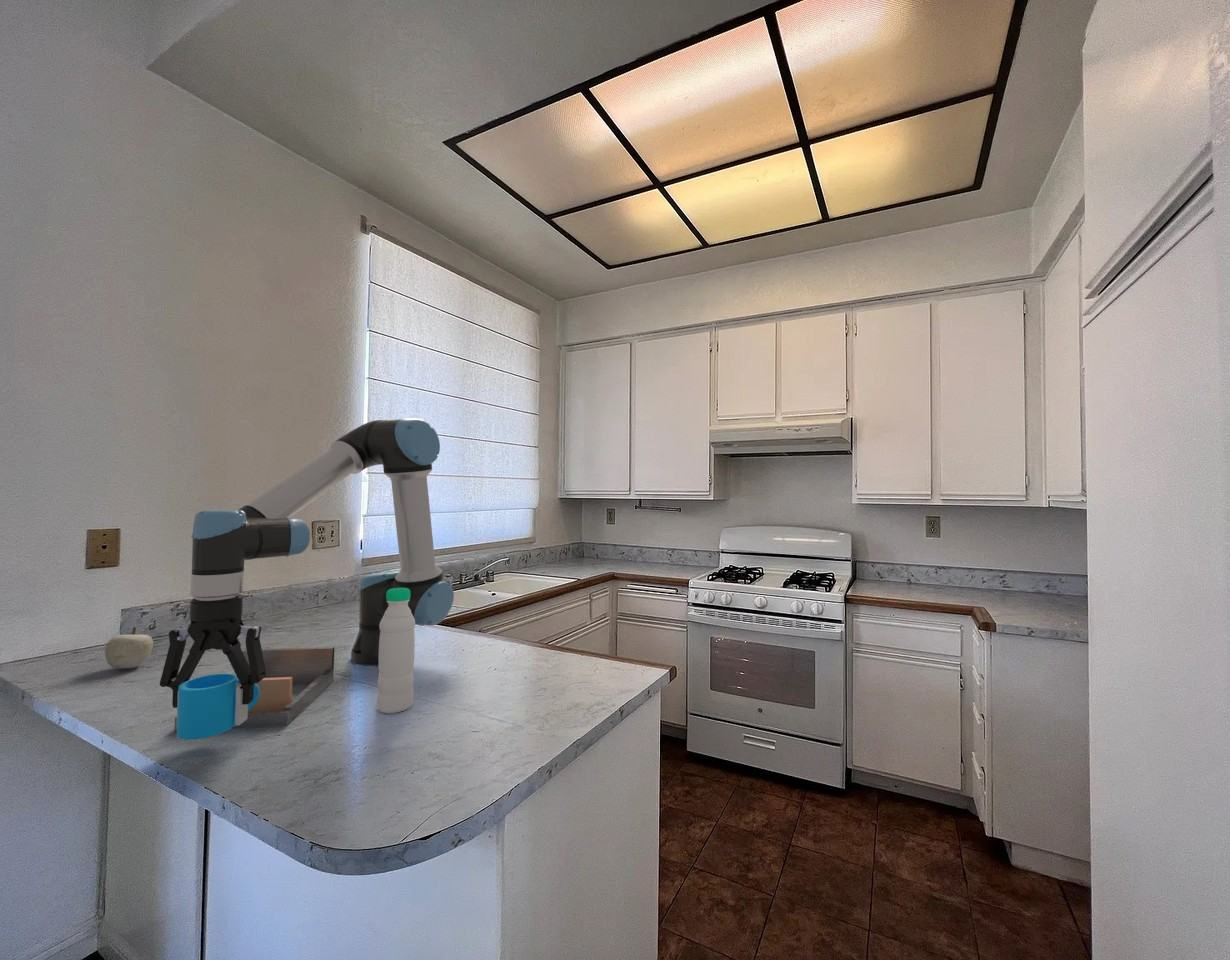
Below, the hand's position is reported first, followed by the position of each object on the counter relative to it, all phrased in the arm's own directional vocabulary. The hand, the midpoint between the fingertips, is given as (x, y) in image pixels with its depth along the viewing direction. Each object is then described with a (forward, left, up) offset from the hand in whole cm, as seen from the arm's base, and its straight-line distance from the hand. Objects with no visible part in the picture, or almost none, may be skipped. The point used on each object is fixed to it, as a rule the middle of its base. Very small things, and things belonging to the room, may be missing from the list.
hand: (212, 723), depth 93 cm
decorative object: (+43, -46, -4) cm, 63 cm away
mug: (-1, 0, -1) cm, 1 cm away
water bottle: (-28, -13, -4) cm, 31 cm away
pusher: (0, -13, -3) cm, 13 cm away
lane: (0, -19, -4) cm, 19 cm away
